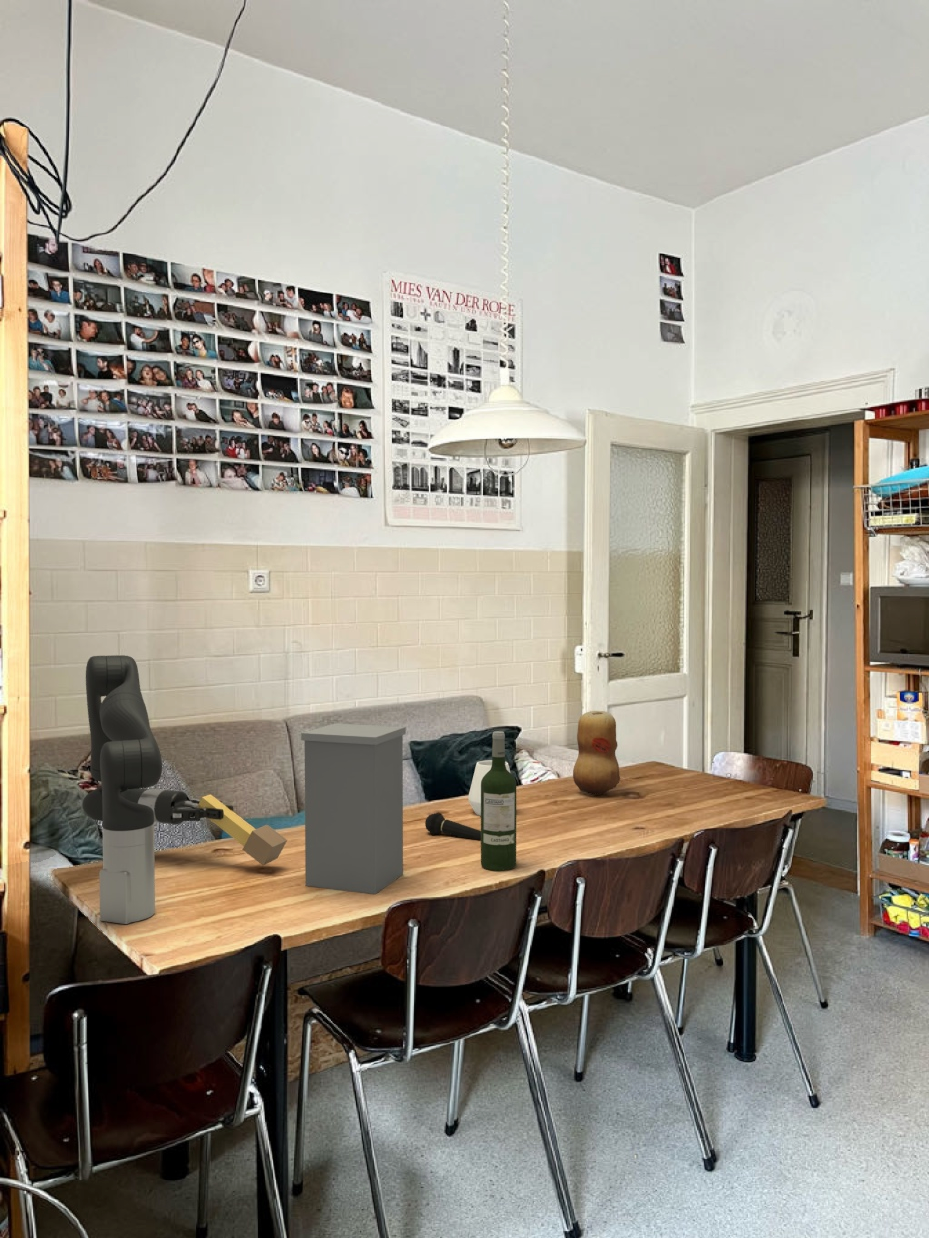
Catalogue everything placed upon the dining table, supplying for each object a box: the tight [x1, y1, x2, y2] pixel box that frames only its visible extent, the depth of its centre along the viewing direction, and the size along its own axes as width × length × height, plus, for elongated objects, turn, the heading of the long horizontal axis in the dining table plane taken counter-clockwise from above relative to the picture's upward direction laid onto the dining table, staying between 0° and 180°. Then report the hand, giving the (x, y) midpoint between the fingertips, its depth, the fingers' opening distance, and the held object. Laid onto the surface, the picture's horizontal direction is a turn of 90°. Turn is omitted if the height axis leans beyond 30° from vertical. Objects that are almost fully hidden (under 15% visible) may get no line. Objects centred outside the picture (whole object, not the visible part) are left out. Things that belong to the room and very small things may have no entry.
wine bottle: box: [480, 730, 517, 872], centre depth 210 cm, size 8×8×30 cm
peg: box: [199, 794, 288, 866], centre depth 210 cm, size 21×6×5 cm
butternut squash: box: [572, 710, 621, 796], centre depth 284 cm, size 14×13×25 cm
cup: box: [467, 759, 511, 817], centre depth 261 cm, size 13×13×14 cm
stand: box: [300, 723, 407, 895], centre depth 200 cm, size 17×15×32 cm
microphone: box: [424, 812, 481, 841], centre depth 236 cm, size 6×6×20 cm
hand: (227, 812), depth 211 cm, fingers closed on peg, 3 cm apart
